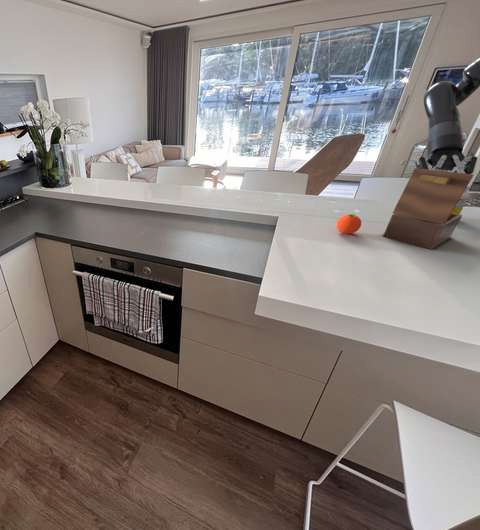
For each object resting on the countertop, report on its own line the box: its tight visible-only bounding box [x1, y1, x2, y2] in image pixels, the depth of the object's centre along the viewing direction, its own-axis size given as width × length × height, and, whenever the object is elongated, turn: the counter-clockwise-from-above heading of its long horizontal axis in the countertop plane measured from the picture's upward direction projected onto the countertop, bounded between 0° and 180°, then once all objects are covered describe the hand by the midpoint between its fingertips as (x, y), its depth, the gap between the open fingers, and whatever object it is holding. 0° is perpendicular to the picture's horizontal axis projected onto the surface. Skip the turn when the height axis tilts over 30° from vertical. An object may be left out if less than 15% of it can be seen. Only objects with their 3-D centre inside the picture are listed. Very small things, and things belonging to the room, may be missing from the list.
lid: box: [392, 167, 475, 225], centre depth 86 cm, size 14×13×5 cm
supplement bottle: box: [452, 183, 471, 215], centre depth 103 cm, size 7×7×13 cm
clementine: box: [336, 213, 362, 235], centre depth 102 cm, size 8×7×7 cm
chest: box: [383, 213, 463, 250], centre depth 95 cm, size 14×13×8 cm
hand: (445, 188), depth 88 cm, fingers closed on sauce bottle, 5 cm apart
